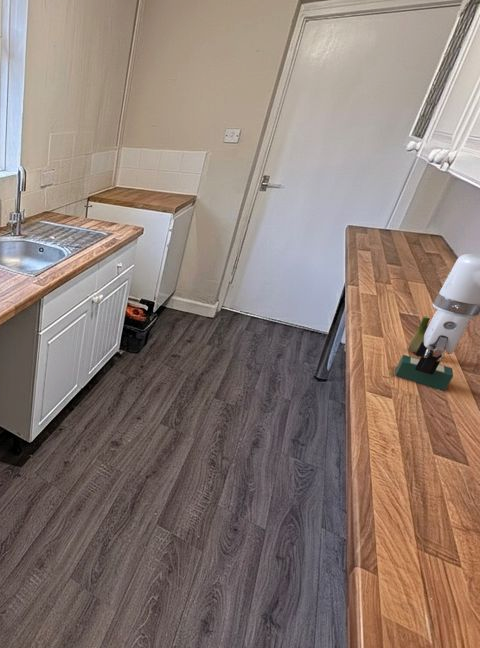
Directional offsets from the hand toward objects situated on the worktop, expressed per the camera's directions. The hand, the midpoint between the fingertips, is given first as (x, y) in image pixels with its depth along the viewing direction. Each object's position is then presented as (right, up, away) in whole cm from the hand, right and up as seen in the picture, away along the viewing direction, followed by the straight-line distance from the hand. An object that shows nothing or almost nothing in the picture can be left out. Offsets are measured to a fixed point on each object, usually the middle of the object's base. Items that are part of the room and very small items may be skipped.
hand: (423, 364), depth 106 cm
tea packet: (0, -4, +1) cm, 4 cm away
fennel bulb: (+13, +1, +13) cm, 18 cm away
